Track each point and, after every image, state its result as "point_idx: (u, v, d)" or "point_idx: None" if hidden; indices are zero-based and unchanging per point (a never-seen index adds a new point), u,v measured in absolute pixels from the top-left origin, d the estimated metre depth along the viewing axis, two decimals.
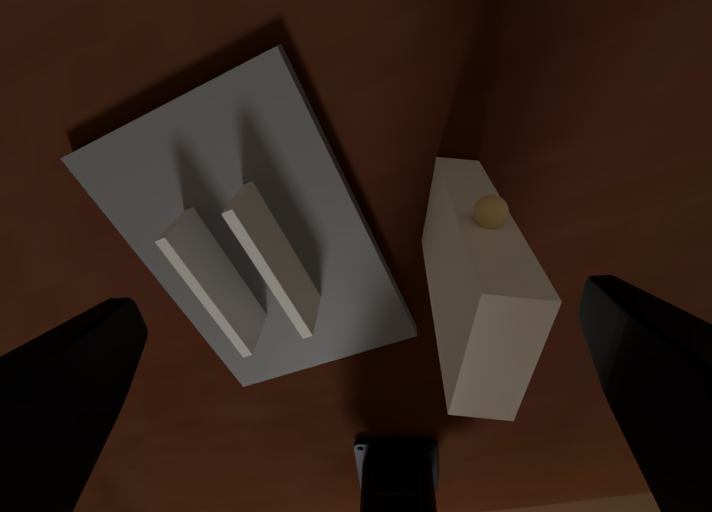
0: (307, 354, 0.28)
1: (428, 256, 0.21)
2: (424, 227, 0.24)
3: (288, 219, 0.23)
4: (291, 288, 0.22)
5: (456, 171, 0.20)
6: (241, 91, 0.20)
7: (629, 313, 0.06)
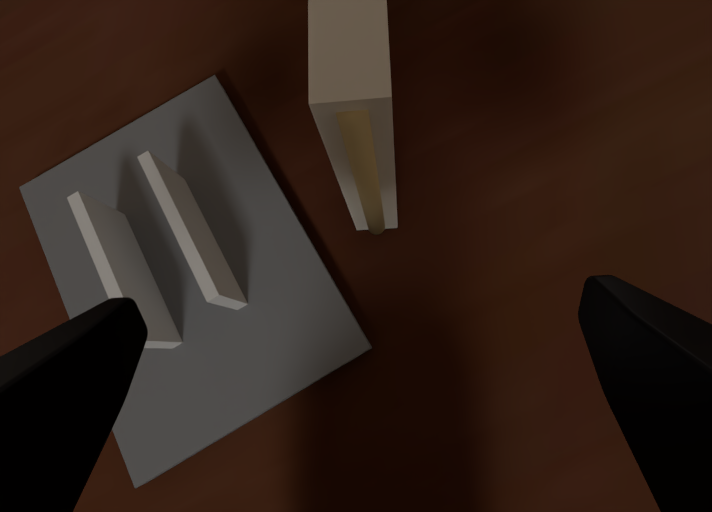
0: (229, 404, 0.21)
1: None
2: None
3: (215, 212, 0.23)
4: (201, 246, 0.20)
5: None
6: (184, 108, 0.25)
7: (629, 313, 0.06)
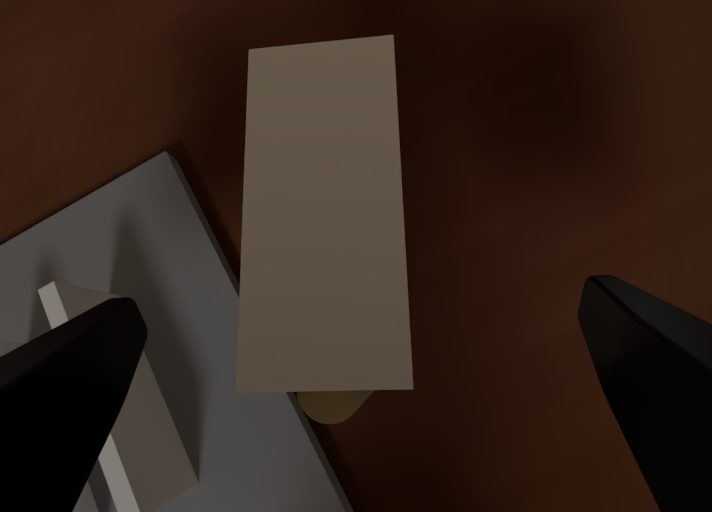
0: None
1: None
2: None
3: (159, 345, 0.17)
4: (125, 425, 0.14)
5: None
6: (124, 196, 0.19)
7: (629, 313, 0.06)
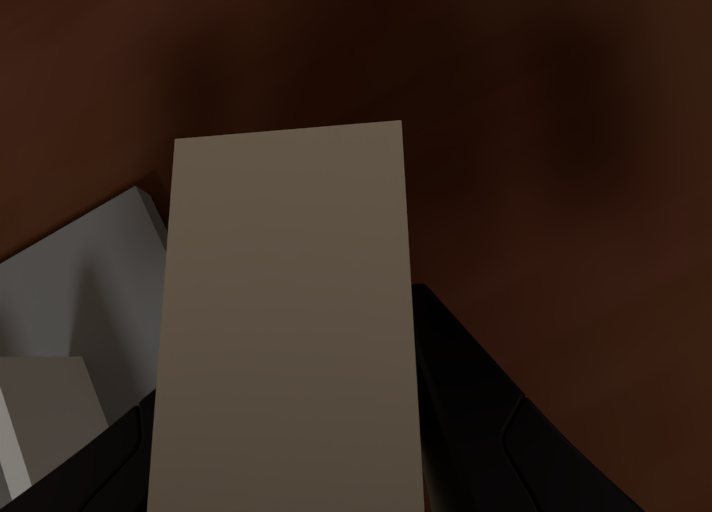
0: None
1: None
2: None
3: None
4: None
5: None
6: (88, 238, 0.16)
7: None
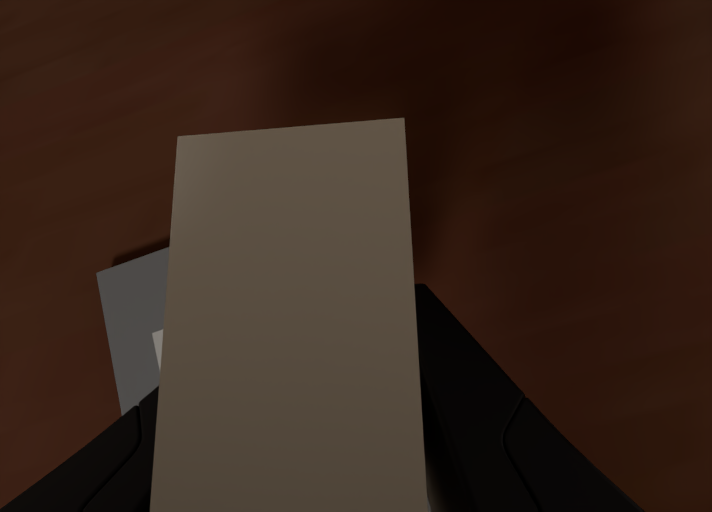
0: None
1: None
2: None
3: None
4: None
5: None
6: None
7: None
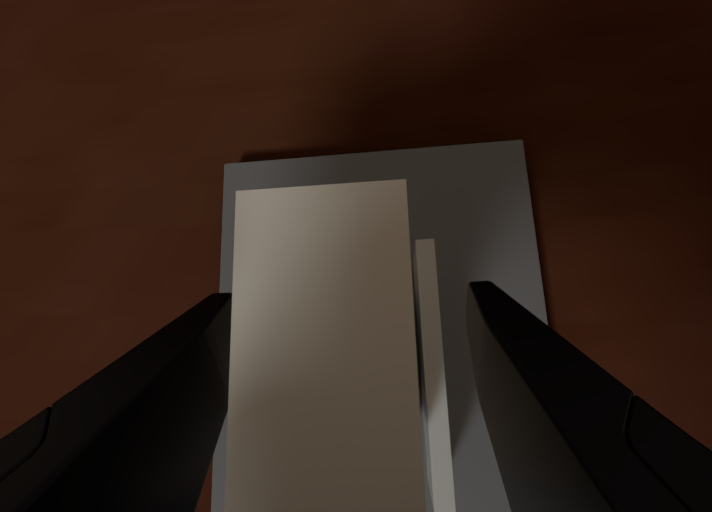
0: None
1: None
2: None
3: (450, 328, 0.17)
4: None
5: None
6: (464, 166, 0.18)
7: (484, 318, 0.07)
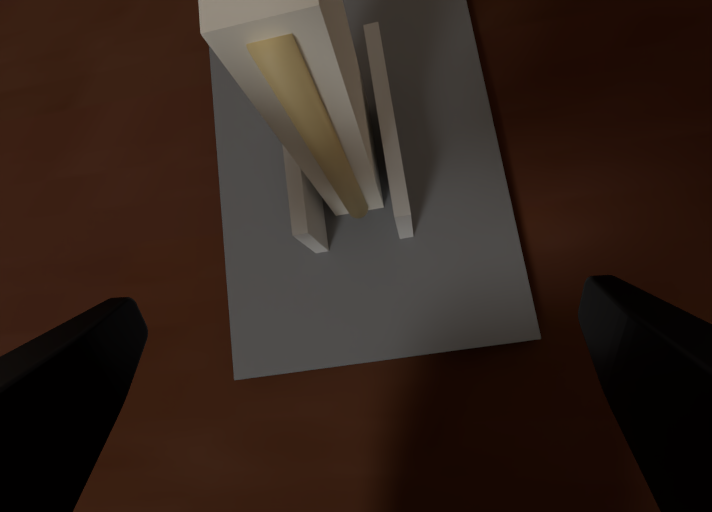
0: (358, 336, 0.18)
1: None
2: None
3: (408, 122, 0.20)
4: None
5: None
6: None
7: (629, 313, 0.06)
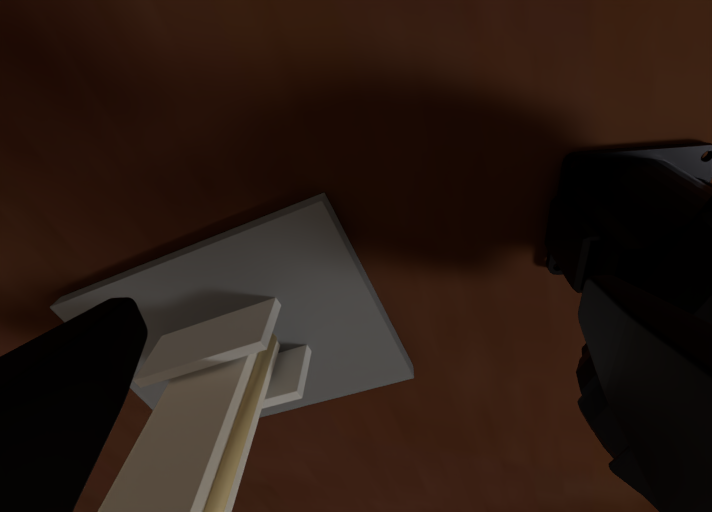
0: (361, 316, 0.24)
1: None
2: None
3: (191, 315, 0.25)
4: (219, 344, 0.22)
5: None
6: None
7: (629, 313, 0.06)
